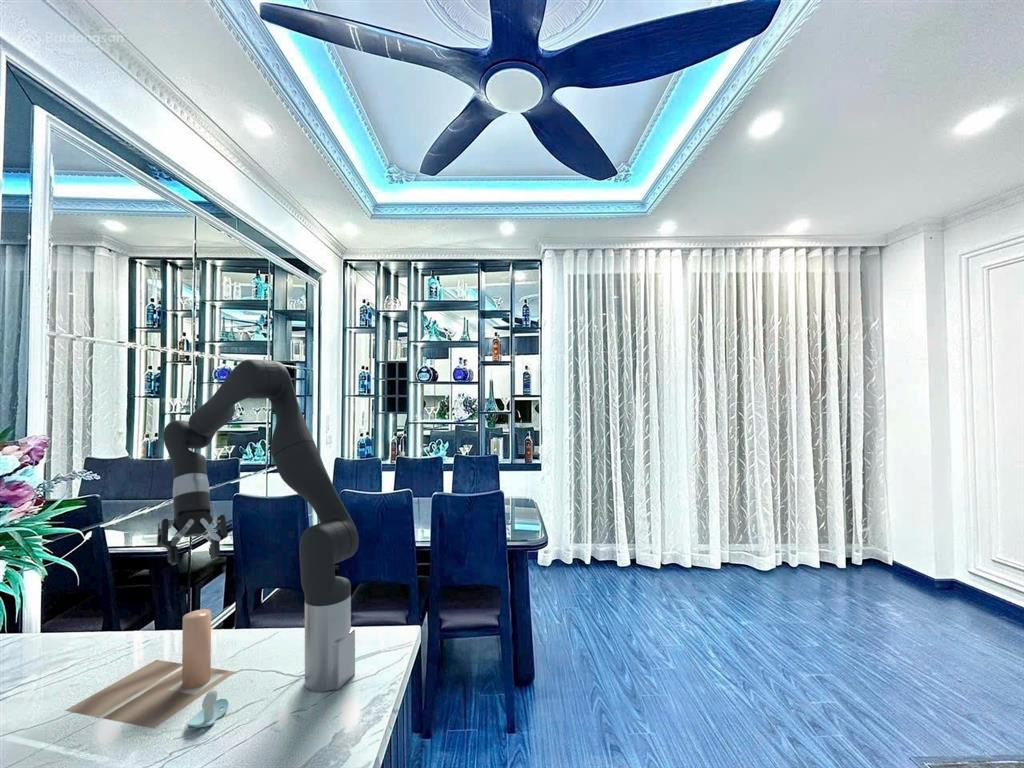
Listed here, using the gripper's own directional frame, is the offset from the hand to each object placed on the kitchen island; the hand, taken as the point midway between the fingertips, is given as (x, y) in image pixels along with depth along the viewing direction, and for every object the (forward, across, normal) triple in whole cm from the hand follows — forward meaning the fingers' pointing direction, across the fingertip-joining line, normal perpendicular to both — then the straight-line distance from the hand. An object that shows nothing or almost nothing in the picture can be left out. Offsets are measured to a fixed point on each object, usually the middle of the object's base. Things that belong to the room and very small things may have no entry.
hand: (195, 561), depth 110 cm
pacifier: (+33, -6, -15) cm, 37 cm away
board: (+25, -8, +2) cm, 26 cm away
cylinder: (+25, -2, -2) cm, 26 cm away
